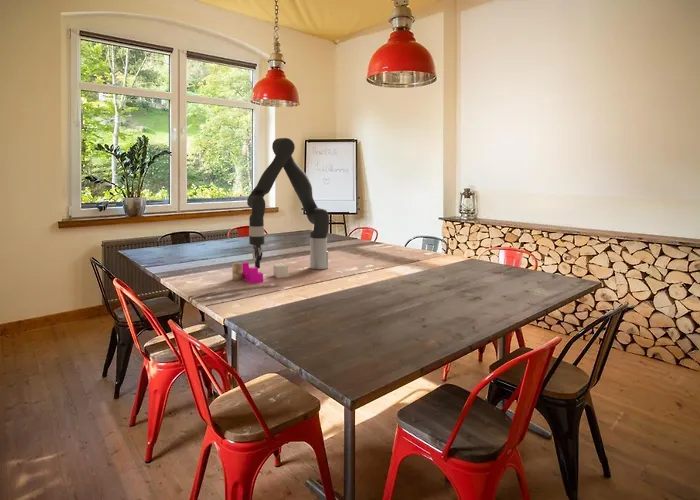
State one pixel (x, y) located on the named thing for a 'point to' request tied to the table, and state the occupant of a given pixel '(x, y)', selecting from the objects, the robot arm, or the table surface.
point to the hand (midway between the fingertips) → (257, 268)
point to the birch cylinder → (237, 271)
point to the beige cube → (280, 270)
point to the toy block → (251, 274)
